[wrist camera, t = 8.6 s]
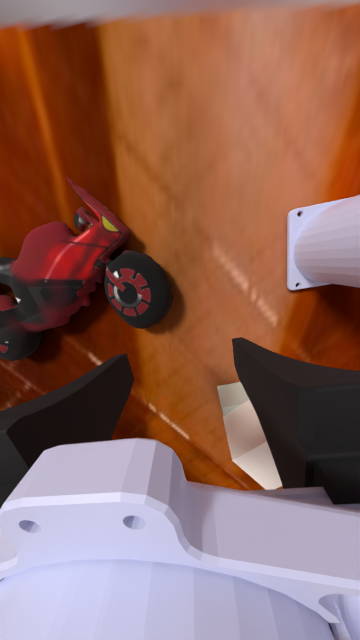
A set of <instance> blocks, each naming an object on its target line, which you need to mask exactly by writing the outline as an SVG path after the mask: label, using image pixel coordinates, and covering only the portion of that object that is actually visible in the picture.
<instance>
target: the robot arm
mask: <svg viewBox="0 0 360 640" xmlns="http://www.w3.org/2000/svg"><path fill="white" fill-rule="evenodd" d="M298 212H300V217H298V216H297V213H298ZM297 283H298V286H297V287H296V284H297ZM328 284H339V285H345V286H352V287H359V288H360V195H358V196H355V197H351V198H346V199H341V200H337V201H332V202H327V203H322V204H317V205H313V206H308V207H303V208H298V209H294V210H292V211H290V212H289V214H288V217H287V288H288V289H289V290H298V289H304V288H310V287H316V286H322V285H328ZM232 343H233V353H234V364H235V368H236V371H237V374H238V377H239V380H240V382H241V384H242V386H243V388H244V390H245V392H246V394H247V396H248V398H249V400H250V402H251V404H252V406H253V408H254V410H255V412H256V414H257V416H258V419H259V422H260V424H261V427H262V429H263V432H264V435H265V438H266V440H267V443H268V446H269V448H270V451H271V454H272V457H273V460H274V462H275V465H276V468H277V471H278V474H279V477H280V480H281V483H282V486H283V489H271V490H253V491H242V490H236V489H230V488H224V487H219V486H213V485H207V484H201V483H195V482H189V481H187V480H186V478H185V475H184V471H183V467H182V463H181V461H180V460H179V458H178V457H177V455H176V454H175V452H174V451H173V449H171V448H170V447H168V446H167V445H165V444H163V443H161V442H159V441H157V440H154V439H145V438H130V439H119V440H111V439H112V436H113V433H114V430H115V427H116V424H117V422H118V420H119V417H120V415H121V413H122V411H123V408H124V406H125V404H126V401H127V399H128V397H129V394H130V392H131V388H132V385H133V381H134V377H133V374H132V370H131V367H130V364H129V361H128V357H127V354H120V355H116V356H114V357H113V358H111V359H109V360H107V361H106V362H104V363H103V364H101V365H99V366H98V367H96V368H95V369H93V370H92V371H90V372H88V373H87V374H85V375H83V376H82V377H80V378H78V379H76V380H75V381H73V382H71V383H69V384H67V385H65V386H63V387H61V388H59V389H57V390H55V391H52V392H50V393H48V394H45V395H43V396H41V397H39V398H36V399H34V400H31V401H28V402H26V403H23V404H20V405H18V406H15V407H12V408H9V409H6V410H3V411H0V640H360V371H353V370H344V369H338V368H332V367H325V366H320V365H315V364H311V363H307V362H302V361H299V360H295V359H292V358H289V357H285V356H282V355H280V354H277V353H275V352H272V351H270V350H267V349H265V348H263V347H261V346H259V345H257V344H255V343H253V342H251V341H249V340H247V339H245V338H242V337H241V338H234V339H232Z"/></svg>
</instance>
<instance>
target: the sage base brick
mask: <svg viewBox="0 0 360 640" xmlns="http://www.w3.org/2000/svg"><path fill="white" fill-rule="evenodd" d="M217 389H218V394H219V398H220V403H221V407H222V411H223V415H226V414H228V413H229V412H231V411H232V410H234V409H235V408H237V407H238V406H240V405H242V404H243V403H245V402H246V401H248V400H249V398H248V396H247V394H246V392H245V390H244V388H243V386H242V384H241V382H238V383H232V384H227V385H221V386H217Z"/></svg>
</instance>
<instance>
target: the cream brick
mask: <svg viewBox="0 0 360 640" xmlns="http://www.w3.org/2000/svg"><path fill="white" fill-rule="evenodd" d="M223 421H224V425H225V430H226V434H227V439H228V444H229V448H230V453H231V457H232V461H233V462H235V463H236V464H237V465H238V466H239V467H240V468H242V469H243V470H244V471H245V472H246V473H247V474H249V475H250V476H251V477H252V478H253V479H254V480H256V481H257V482H258V483H259V484H260V485H261V486H262V487H264V488H265V489H266V490H271V489H276V488H278V487H280V486H282V483H281V480H280V477H279V474H278V471H277V468H276V465H275V462H274V460H273V457H272V454H271V451H270V448H269V446H268V443H267V440H266V438H265V435H264V432H263V429H262V427H261V424H260V422H259V419H258V416H257V414H256V412H255V410H254V408H253V406H252V404H251V402H250V400H248V401H246V402H245V403H243V404H242V405H240V406H238V407H237V408H235V409H234V410H232V411H231V412H229V413H228V414H226V415H224V416H223Z"/></svg>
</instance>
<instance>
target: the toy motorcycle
mask: <svg viewBox="0 0 360 640" xmlns="http://www.w3.org/2000/svg"><path fill="white" fill-rule="evenodd" d="M66 178H67V177H66ZM67 180H68V182H69V183H70V185H71V186H72V187H73V189H74V190H75V192H76V193H77V194H78V195H79V196H80V197H81V198H82V199H83V201H84V202H85V203H86V204H87V205H88V206H89V207H90V208H91V209H92V211H93V212H94V213H95V214H96V215H97V217H98V218H99V220H100V222H99V221H97V220H96V219H94V218H93V217H92V216H91V215H90V214H89V213H88V211H87V210H86V209H85V208H83V207H81V208H79V209H78V210H77V211H76V213H75V216H74V223H75V226H76V227H77V228H78V229H79V230H80V231H82V232H83V231H84V229H85V226H86V224H90V226H89V227H88V229H87V230H86V231H85V232H83V233H82V234H80V235H79V236H77V237H76V236H75V234H74V232H73V231H72V230H71V229H70V228H69V227H68V226H67V225H66V224H65V223H62V222H51V223H48V224H45V225H42V226H39V227H37V228H35V229H33V230H32V231H31V232H30V233H28V235H27V236H26V238H25V240H24V242H23V246H22V249H21V253H20V255H19V257H18V259H17V260H15V259H11V258H5V257H0V283H2V284H5V285H8V286H10V287H11V288H12V291H13V293H14V295H15V297H16V299H15V298H13V297H10V296H6V295H0V358H2V359H5V360H12V361H14V360H21V359H24V358H26V357H28V356H29V355H31V354H33V353H34V352H35V351H36V350H37V349H38V347H39V345H40V342H41V338H42V331H43V330H46V329H51V328H54V327H58V326H61V325H64V324H67V323H68V322H69V320H70V317H71V315H72V314H74V313H76V312H77V311H78V310H79V309H80V307H81V306H89V305H90V303H91V299H90V296H89V293H90V292H93V291H96V288H97V286H96V284H97V282H98V283H103V279H104V277H105V292H106V296H107V298H108V301H109V302H110V304H111V306H112V307H113V308H114V309H115V311H116V312H117V313H118V314H119V315H120V317H121V318H123V319H124V320H125V321H126V322H127V323H128V324H129V325H131V326H133V327H135V328H141V329H144V328H148V327H151V326H153V325H155V324H157V323H159V322H160V321H161V320H162V319H163V318H164V317H165V316H166V314H167V312H168V310H169V308H170V306H171V302H172V299H173V296H172V292H171V284H170V281H169V280H168V279H167V278H166V276H165V273H164V271H163V269H162V268H161V267H160V265H159V264H158V263H156V262H155V261H154V260H153V259H152V258H151V257H150V256H148V255H146V254H142V253H139V252H137V251H134V250H133V251H129V250H125V251H123V253H122V254H121V255H120V256H118V257H117V258H116V259H115V260H111V258H110V256H111V255H112V253H113V252H114V251H116V249H118V247H120V246H121V245H123V244H124V243H125V242H126V241H127V239H128V238H129V237H130V230H129V229H128V228H127V227H126V226H125V225H124V224H122V223H121V222H120V221H119V219H118V218H117V216H116V215H114V214H113V213H111V212H110V211H109V209H108V208H107V207H105V206H104V205H103V204H102V203H100V202H99V201H97V200H96V199H95V198H93V197H92V196H91V195H90V194H89V192H88V191H87V190H86V189H83V188H80V187H78V186H77V185H76V184H75V183H74V182H73V181H72V180H71V179H69V178H67ZM105 273H106V274H105Z"/></svg>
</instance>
